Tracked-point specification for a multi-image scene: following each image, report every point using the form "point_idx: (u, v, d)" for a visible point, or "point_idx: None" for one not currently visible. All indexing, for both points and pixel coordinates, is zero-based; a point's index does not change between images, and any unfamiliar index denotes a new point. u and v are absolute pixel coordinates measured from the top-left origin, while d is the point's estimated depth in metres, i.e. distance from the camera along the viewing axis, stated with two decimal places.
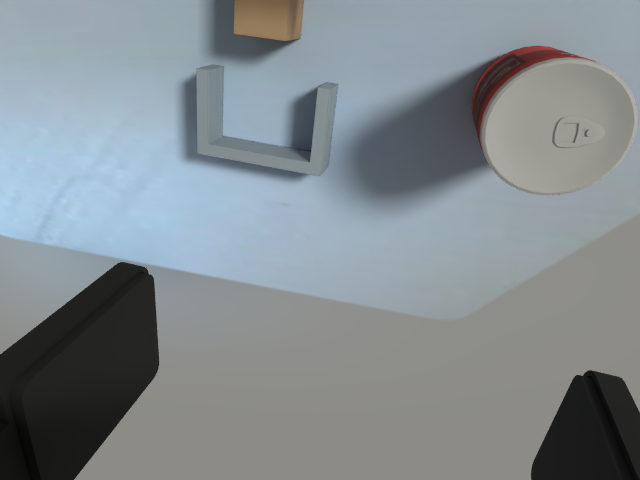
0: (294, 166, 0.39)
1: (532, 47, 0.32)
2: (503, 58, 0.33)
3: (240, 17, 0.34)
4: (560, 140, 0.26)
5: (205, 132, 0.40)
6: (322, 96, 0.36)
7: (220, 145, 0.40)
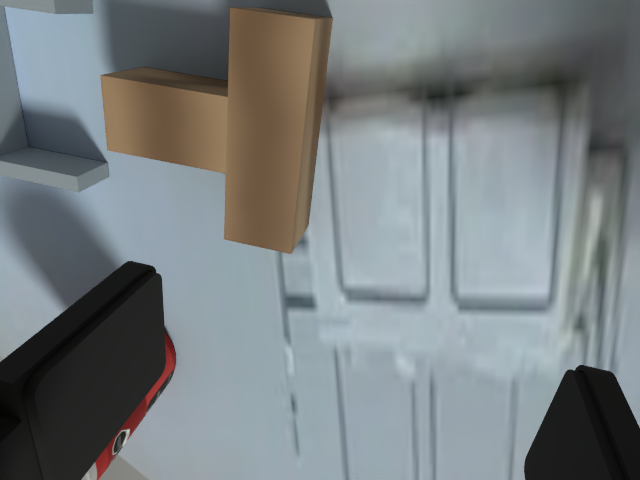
0: None
1: None
2: None
3: (121, 88, 0.24)
4: None
5: None
6: (68, 181, 0.29)
7: None
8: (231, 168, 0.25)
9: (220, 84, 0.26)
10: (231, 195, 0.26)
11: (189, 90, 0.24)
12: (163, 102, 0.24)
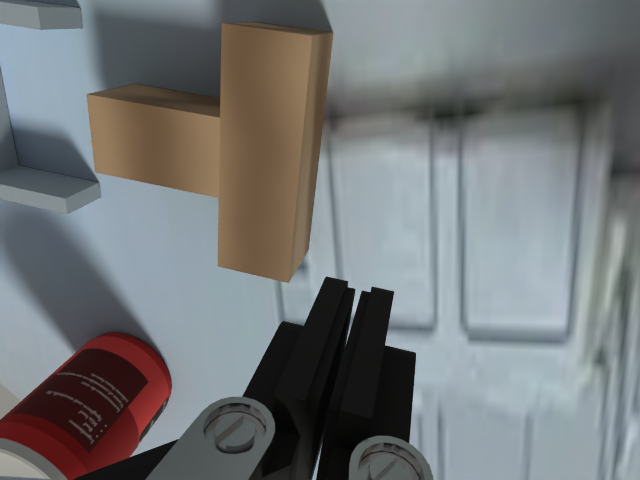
0: None
1: (159, 391, 0.34)
2: (143, 374, 0.33)
3: (108, 108, 0.23)
4: None
5: None
6: (57, 203, 0.27)
7: None
8: (224, 192, 0.23)
9: (214, 102, 0.24)
10: (225, 220, 0.24)
11: (179, 110, 0.22)
12: (152, 123, 0.23)
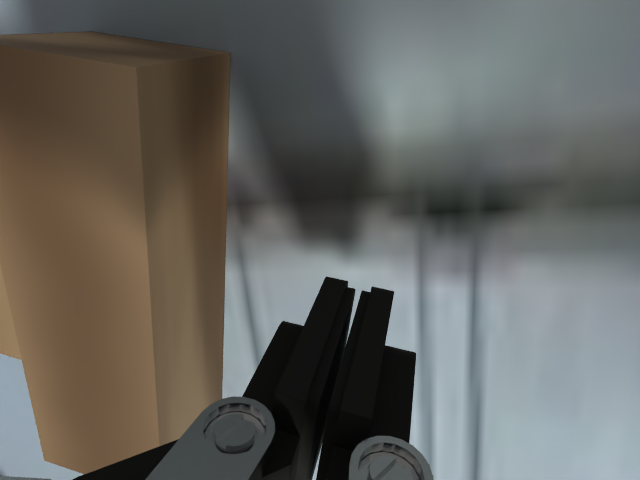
0: None
1: None
2: None
3: None
4: None
5: None
6: None
7: None
8: (29, 352, 0.12)
9: None
10: (40, 396, 0.13)
11: None
12: None
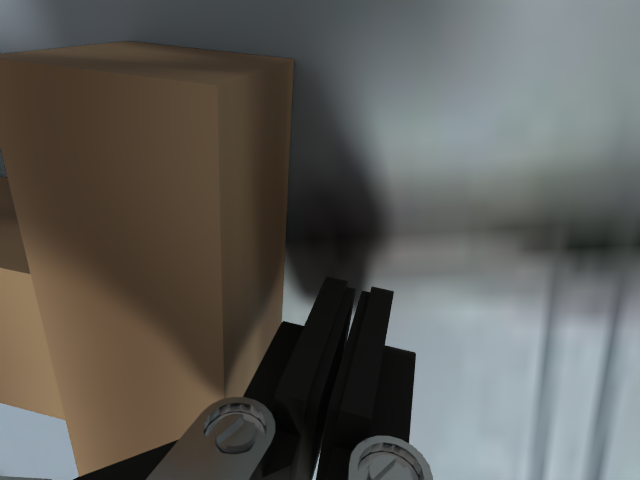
0: None
1: None
2: None
3: None
4: None
5: None
6: None
7: None
8: (74, 412, 0.11)
9: None
10: (86, 458, 0.11)
11: None
12: None
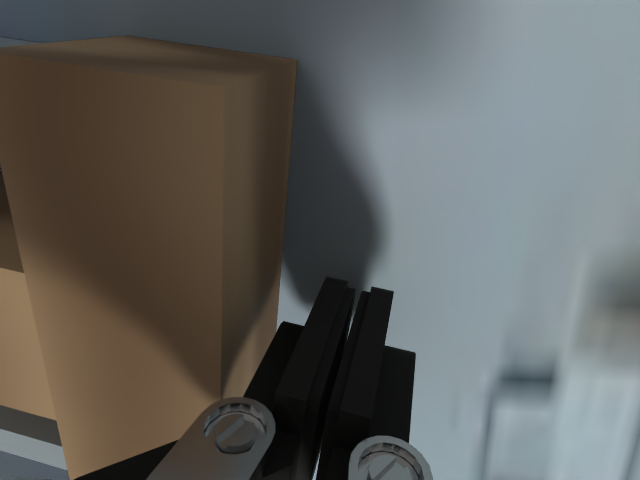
0: None
1: None
2: None
3: None
4: None
5: None
6: (45, 451, 0.13)
7: None
8: (66, 413, 0.11)
9: None
10: (77, 459, 0.11)
11: None
12: None
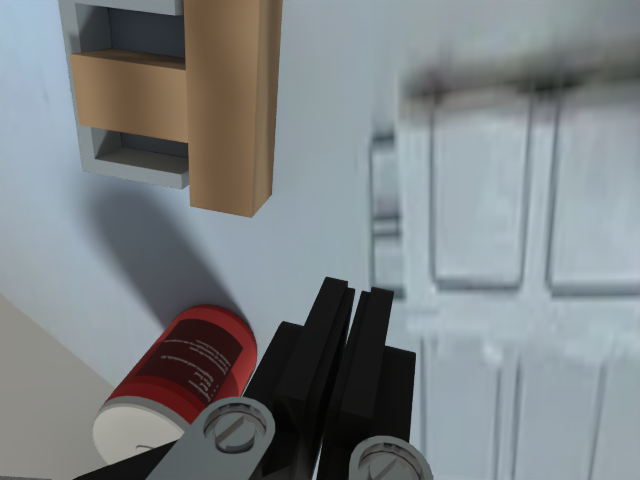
0: (84, 138, 0.30)
1: (251, 357, 0.36)
2: (238, 341, 0.35)
3: (88, 65, 0.26)
4: (141, 450, 0.30)
5: (89, 0, 0.26)
6: (172, 179, 0.30)
7: (78, 22, 0.27)
8: (192, 138, 0.27)
9: (182, 61, 0.28)
10: (194, 163, 0.28)
11: (151, 65, 0.26)
12: (127, 77, 0.26)
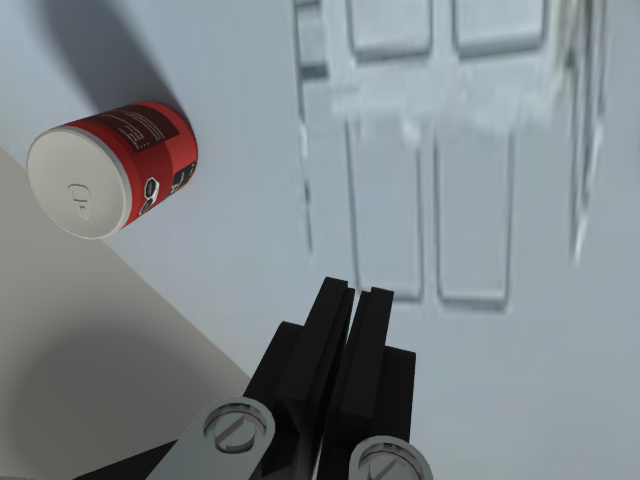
0: None
1: (189, 148, 0.39)
2: (175, 126, 0.38)
3: None
4: (72, 190, 0.32)
5: None
6: None
7: None
8: None
9: None
10: None
11: None
12: None
